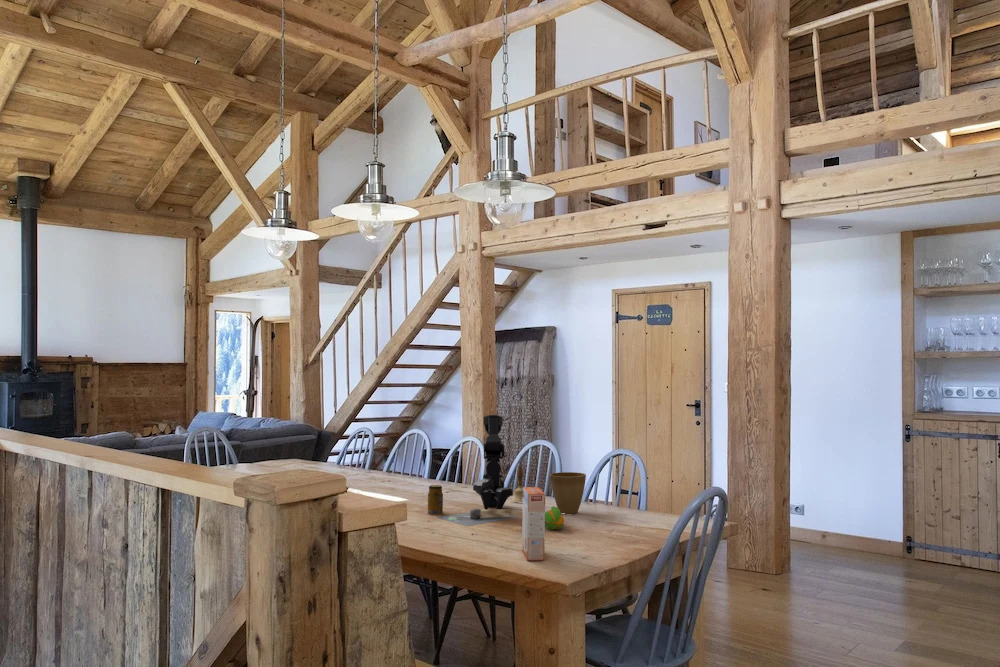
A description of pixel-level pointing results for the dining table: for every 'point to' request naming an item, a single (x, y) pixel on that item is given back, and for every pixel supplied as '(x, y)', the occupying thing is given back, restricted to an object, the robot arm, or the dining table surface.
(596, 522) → the dining table surface
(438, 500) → the condiment
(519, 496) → the hand bell
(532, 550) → the cracker box
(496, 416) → the robot arm
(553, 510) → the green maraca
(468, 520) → the grey board
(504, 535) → the dining table surface
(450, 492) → the dining table surface
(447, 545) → the dining table surface
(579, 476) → the plant pot
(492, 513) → the dial lever
